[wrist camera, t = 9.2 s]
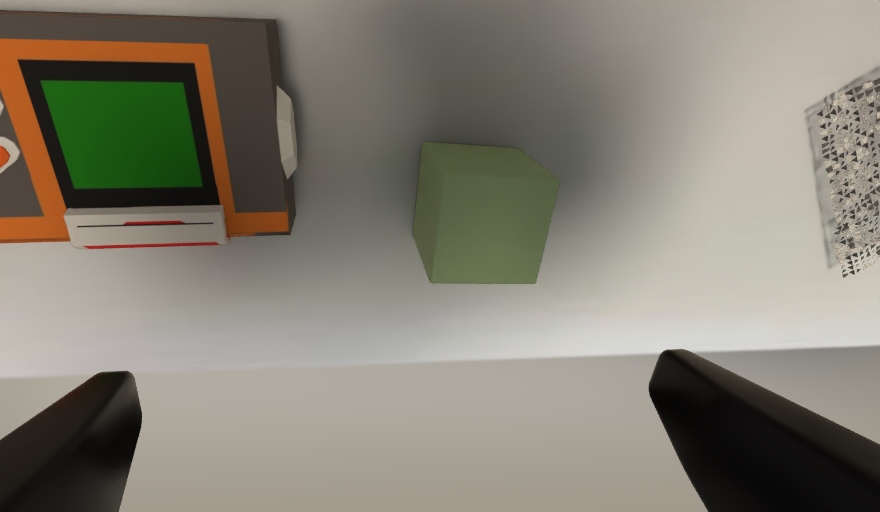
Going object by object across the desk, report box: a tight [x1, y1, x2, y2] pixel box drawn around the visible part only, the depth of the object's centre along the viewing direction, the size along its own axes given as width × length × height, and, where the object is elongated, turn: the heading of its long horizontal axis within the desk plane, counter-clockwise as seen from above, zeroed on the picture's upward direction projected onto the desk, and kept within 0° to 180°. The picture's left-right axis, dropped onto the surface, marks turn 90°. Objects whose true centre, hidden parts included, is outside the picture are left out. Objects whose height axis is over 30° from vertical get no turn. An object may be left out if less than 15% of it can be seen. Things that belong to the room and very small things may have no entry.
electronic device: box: [0, 10, 297, 249], centre depth 15 cm, size 7×3×15 cm
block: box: [413, 142, 560, 284], centre depth 19 cm, size 4×4×4 cm
